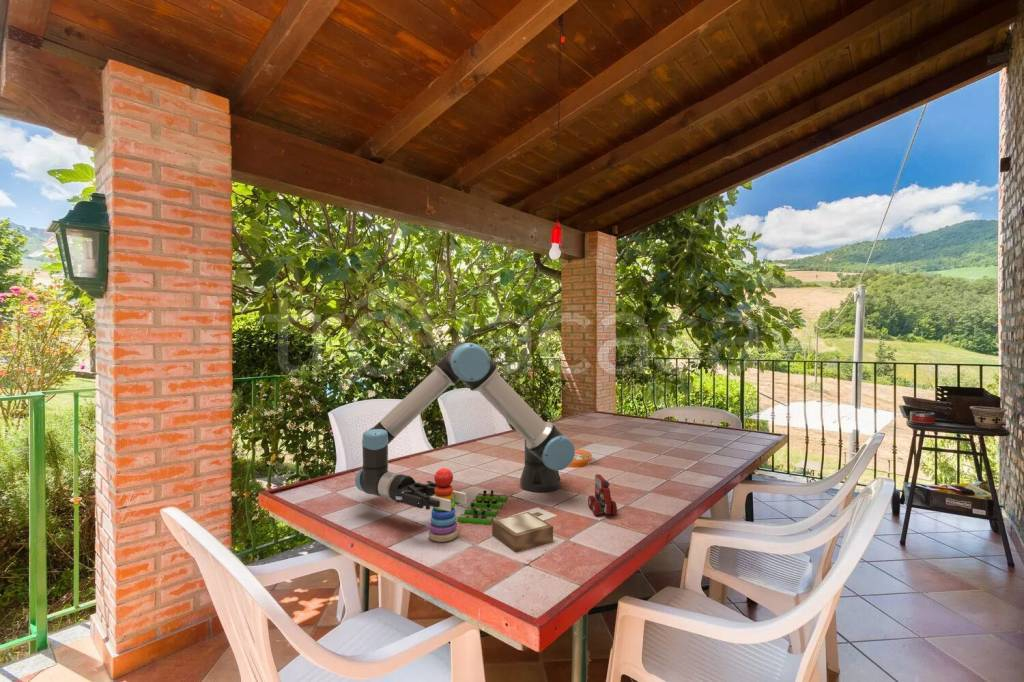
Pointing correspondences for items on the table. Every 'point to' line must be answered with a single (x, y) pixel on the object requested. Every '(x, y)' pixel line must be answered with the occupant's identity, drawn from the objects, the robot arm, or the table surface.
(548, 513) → the page
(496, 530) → the pedestal
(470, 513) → the toy garden set
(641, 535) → the table surface
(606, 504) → the toy fire truck
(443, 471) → the stacking toy
